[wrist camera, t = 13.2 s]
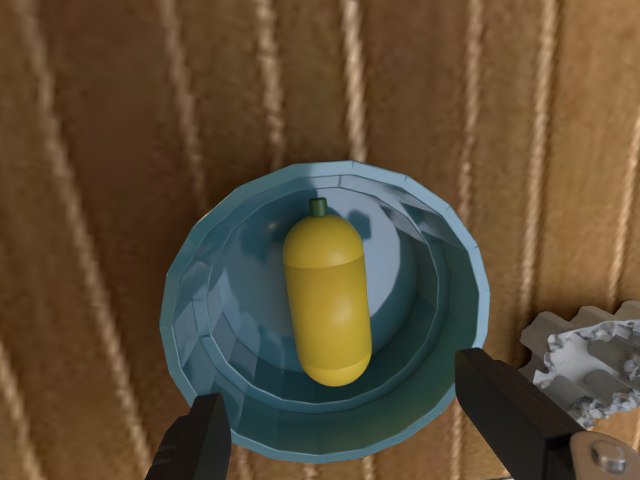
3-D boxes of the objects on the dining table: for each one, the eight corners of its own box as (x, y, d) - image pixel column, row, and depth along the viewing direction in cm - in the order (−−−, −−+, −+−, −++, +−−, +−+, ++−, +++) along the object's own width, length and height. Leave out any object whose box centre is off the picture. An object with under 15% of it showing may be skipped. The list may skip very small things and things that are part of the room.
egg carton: (507, 393, 24) (551, 439, 20) (520, 304, 22) (571, 334, 18) (633, 381, 25) (699, 423, 21) (656, 295, 23) (732, 322, 19)
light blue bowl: (261, 414, 22) (251, 504, 16) (153, 220, 18) (89, 247, 12) (457, 333, 22) (518, 394, 16) (392, 123, 18) (441, 102, 12)
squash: (362, 349, 21) (385, 395, 17) (298, 362, 20) (306, 413, 16) (347, 189, 18) (371, 196, 14) (273, 199, 18) (274, 209, 13)
